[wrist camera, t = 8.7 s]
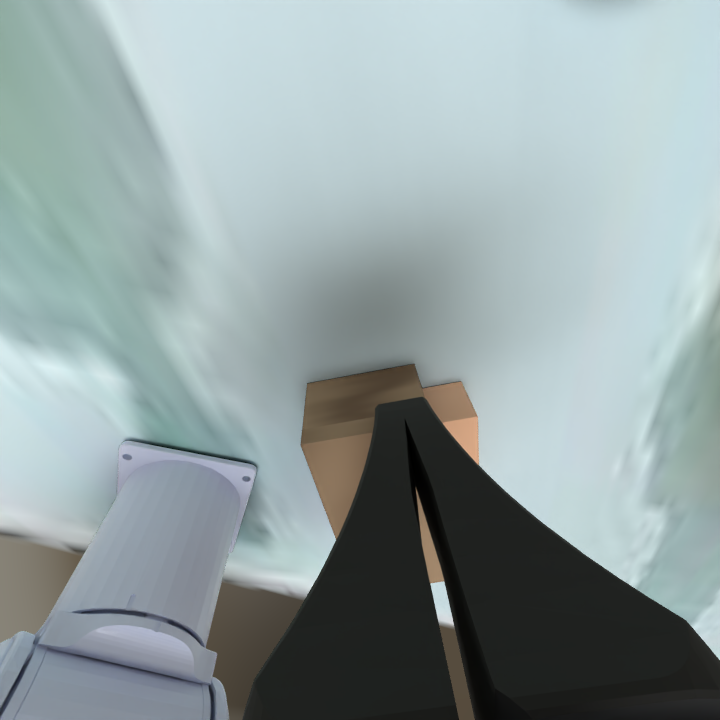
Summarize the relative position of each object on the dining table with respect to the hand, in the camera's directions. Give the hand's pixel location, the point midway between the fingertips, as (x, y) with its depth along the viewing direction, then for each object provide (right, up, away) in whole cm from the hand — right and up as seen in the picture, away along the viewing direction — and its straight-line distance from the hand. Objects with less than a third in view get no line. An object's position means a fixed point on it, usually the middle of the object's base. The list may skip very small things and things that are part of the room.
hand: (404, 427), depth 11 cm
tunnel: (0, -4, +14) cm, 15 cm away
